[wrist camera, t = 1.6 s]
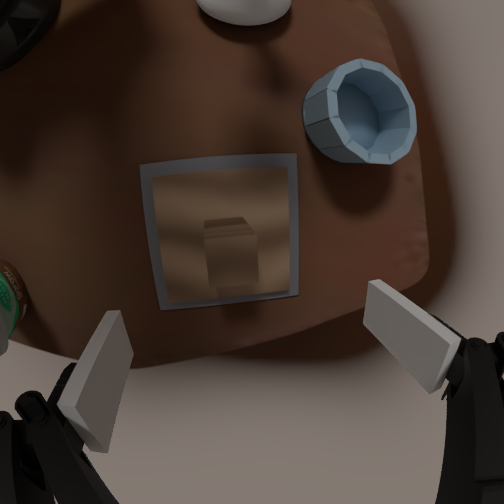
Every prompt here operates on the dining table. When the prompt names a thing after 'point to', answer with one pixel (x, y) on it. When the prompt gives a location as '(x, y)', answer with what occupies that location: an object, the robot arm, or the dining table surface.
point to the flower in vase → (245, 10)
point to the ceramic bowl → (360, 114)
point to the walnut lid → (223, 232)
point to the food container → (10, 302)
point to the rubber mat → (210, 165)
